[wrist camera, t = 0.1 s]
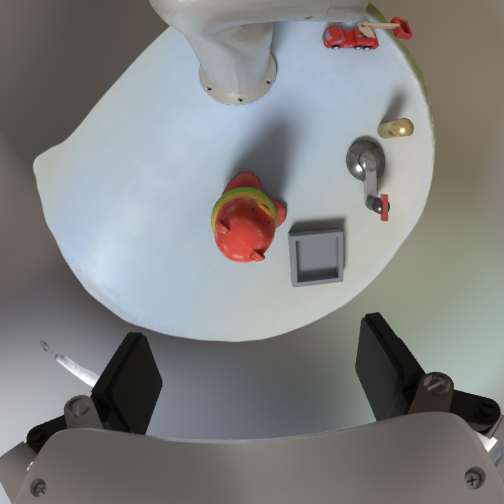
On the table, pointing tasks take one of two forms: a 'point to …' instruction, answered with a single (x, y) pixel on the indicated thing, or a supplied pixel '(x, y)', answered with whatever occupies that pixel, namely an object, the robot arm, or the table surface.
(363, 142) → the hub
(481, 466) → the robot arm
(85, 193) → the table surface
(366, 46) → the toy fire truck
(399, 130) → the pin
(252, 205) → the stacking bear
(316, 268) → the tray
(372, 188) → the crank
